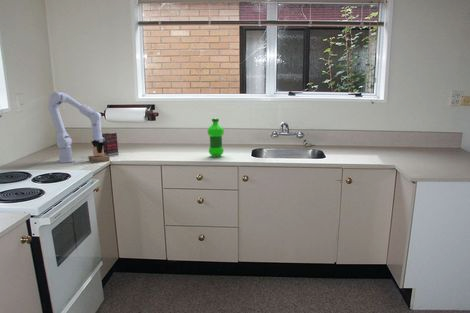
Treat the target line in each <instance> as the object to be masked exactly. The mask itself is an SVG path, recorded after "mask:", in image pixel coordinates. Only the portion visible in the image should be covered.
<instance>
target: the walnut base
mask: <svg viewBox="0 0 470 313" xmlns="http://www.w3.org/2000/svg"><path fill="white" fill-rule="evenodd" d="M88 161H89V162H90V163H93V164H97V163H105V162H106V163H107V162H110V157H109V156H107V155H100V156H95V155H89V156H88Z"/></svg>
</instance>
